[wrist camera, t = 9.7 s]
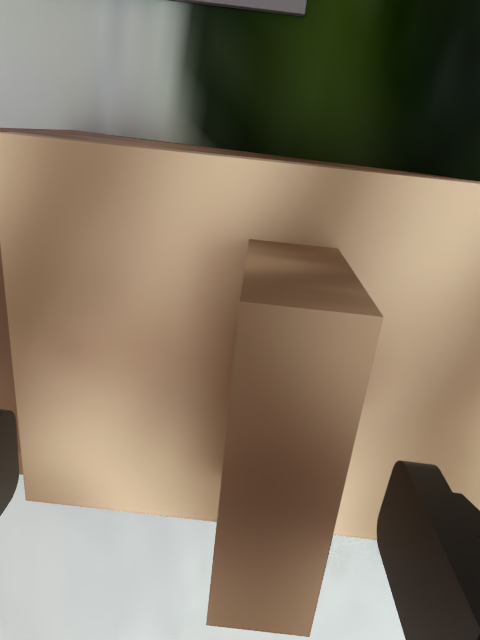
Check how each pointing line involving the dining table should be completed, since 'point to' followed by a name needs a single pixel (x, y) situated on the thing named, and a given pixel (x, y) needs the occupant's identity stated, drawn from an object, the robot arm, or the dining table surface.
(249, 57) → the dining table surface
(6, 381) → the toolbox
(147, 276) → the lid
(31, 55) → the dining table surface
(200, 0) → the mat
